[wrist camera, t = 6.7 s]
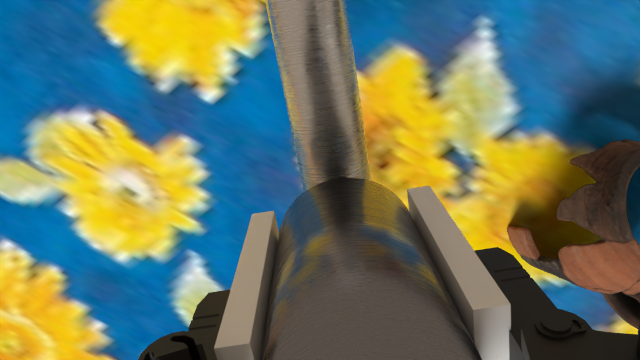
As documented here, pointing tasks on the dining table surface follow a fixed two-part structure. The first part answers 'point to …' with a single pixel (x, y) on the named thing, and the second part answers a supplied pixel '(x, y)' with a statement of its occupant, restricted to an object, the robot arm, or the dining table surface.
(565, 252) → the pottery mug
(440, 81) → the dining table surface
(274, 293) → the shaft
